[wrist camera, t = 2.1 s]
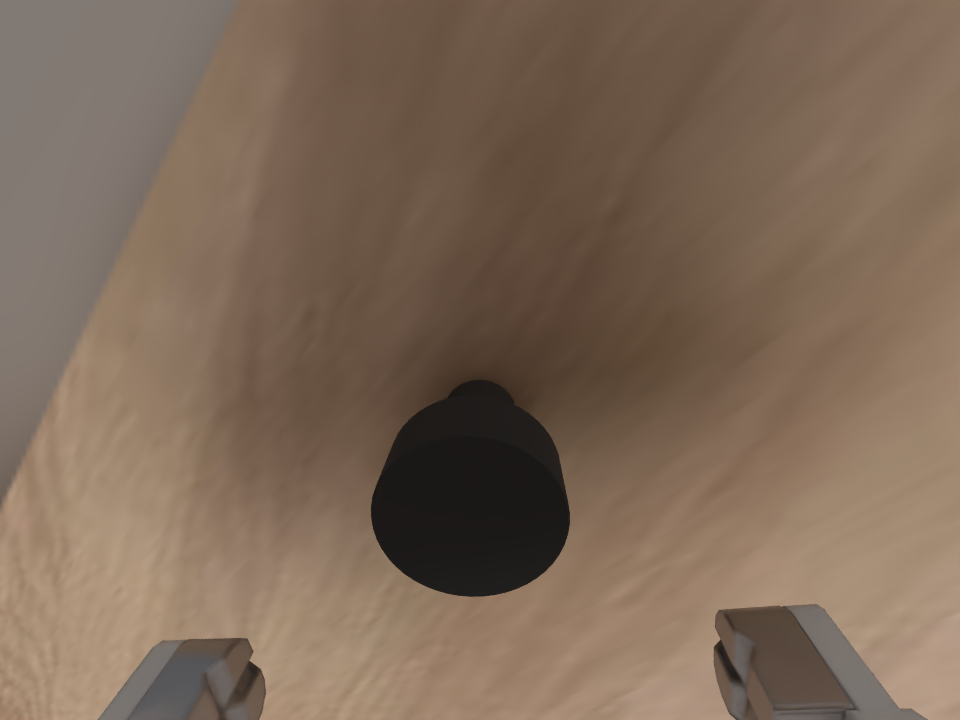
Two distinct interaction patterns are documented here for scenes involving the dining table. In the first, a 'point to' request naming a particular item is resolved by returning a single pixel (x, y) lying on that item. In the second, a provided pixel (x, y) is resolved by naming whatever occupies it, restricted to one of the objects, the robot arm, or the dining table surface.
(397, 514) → the stopper
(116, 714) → the robot arm
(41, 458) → the dining table surface
